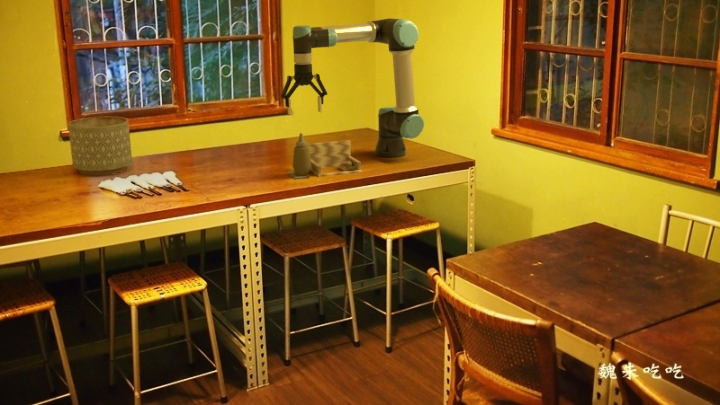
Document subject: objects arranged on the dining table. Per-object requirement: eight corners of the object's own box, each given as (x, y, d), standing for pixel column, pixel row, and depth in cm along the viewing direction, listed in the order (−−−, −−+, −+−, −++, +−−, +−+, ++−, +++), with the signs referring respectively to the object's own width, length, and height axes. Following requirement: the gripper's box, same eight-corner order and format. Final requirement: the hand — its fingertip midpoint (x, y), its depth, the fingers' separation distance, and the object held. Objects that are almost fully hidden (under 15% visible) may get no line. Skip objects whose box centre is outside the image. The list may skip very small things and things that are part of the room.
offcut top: (350, 164, 355) (350, 160, 355) (351, 166, 351) (351, 163, 350) (341, 164, 355) (341, 161, 355) (342, 167, 350) (342, 163, 350)
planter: (63, 170, 357) (57, 122, 351) (113, 161, 375) (109, 114, 368) (91, 180, 340) (86, 129, 334) (143, 169, 358) (139, 120, 352)
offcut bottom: (349, 170, 357) (349, 166, 357) (354, 173, 352) (354, 169, 351) (339, 171, 355) (339, 167, 355) (343, 174, 350) (343, 170, 350)
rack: (349, 166, 362) (349, 140, 359) (362, 174, 348) (362, 147, 344) (307, 170, 355) (307, 143, 352) (319, 178, 341) (318, 151, 337)
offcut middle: (349, 166, 357) (349, 163, 356) (354, 169, 352) (354, 166, 351) (339, 168, 355) (339, 164, 354) (343, 170, 350) (343, 167, 349)
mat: (308, 171, 353) (308, 170, 353) (316, 177, 343) (316, 176, 343) (288, 173, 350) (288, 172, 349) (295, 179, 340) (295, 178, 340)
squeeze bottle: (308, 176, 342) (307, 135, 336) (290, 176, 343) (289, 135, 338) (313, 172, 349) (312, 132, 344) (296, 171, 351) (294, 131, 346)
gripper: (327, 60, 342) (329, 109, 348) (271, 64, 334) (274, 114, 340) (333, 62, 336) (335, 112, 342) (276, 66, 327) (279, 117, 333)
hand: (304, 113), depth 341 cm, fingers open, 13 cm apart
